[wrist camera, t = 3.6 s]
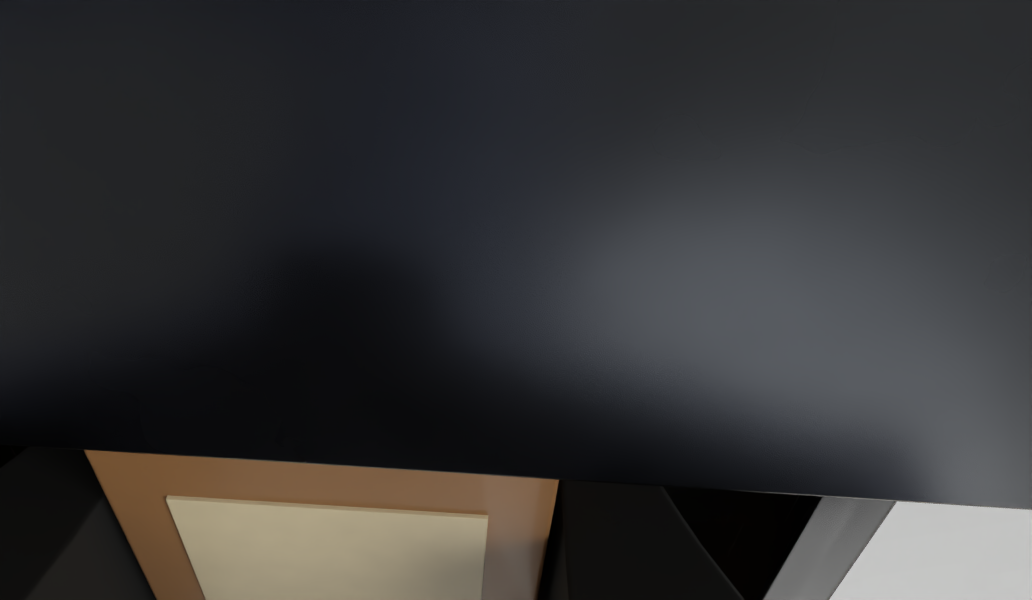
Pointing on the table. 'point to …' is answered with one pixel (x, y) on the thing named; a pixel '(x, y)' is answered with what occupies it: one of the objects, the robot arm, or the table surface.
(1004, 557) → the table surface
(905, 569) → the table surface
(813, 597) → the drawer
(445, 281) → the black storage cabinet
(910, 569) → the table surface
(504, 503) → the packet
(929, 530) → the table surface
